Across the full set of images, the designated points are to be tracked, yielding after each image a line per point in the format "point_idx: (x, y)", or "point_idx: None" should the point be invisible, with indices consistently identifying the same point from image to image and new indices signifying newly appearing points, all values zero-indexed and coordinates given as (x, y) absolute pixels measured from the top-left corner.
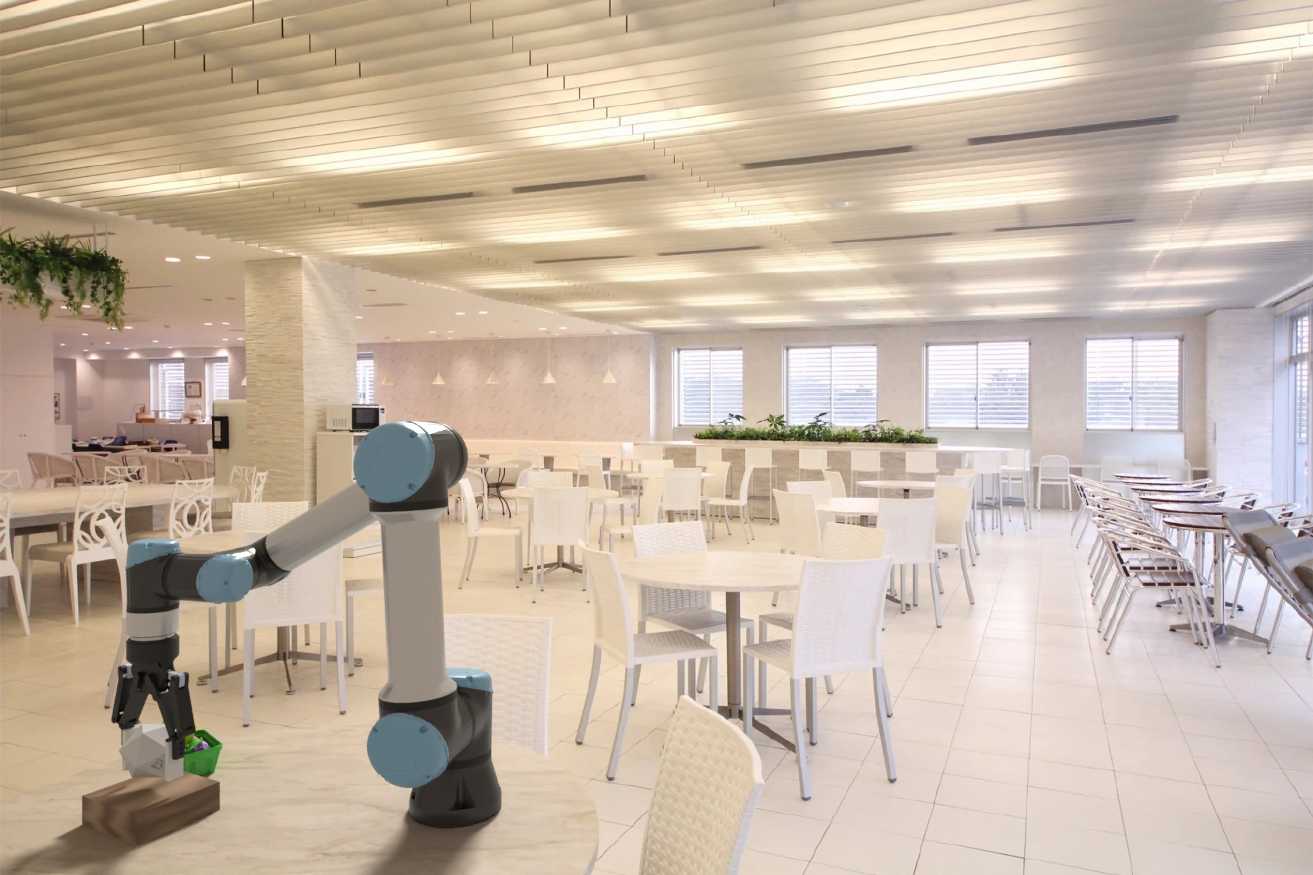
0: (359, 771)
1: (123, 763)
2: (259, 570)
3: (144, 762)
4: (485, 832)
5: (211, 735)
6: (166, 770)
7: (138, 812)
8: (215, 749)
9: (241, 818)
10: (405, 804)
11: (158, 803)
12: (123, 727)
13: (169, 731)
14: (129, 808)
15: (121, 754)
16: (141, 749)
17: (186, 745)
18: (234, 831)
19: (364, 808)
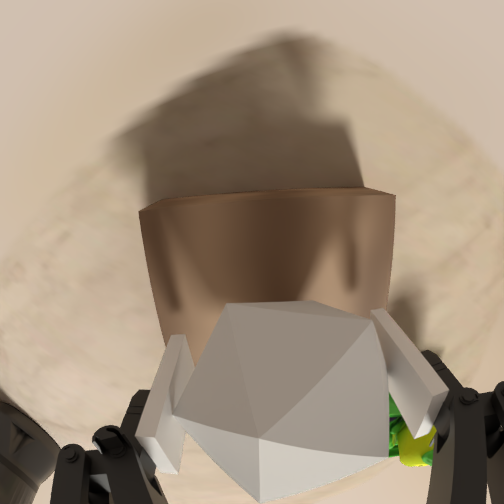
0: (168, 477)
1: (387, 319)
2: None
3: (212, 334)
4: None
5: (392, 456)
6: (170, 355)
7: (149, 219)
8: None
9: (126, 360)
10: (52, 433)
11: (166, 280)
12: (453, 400)
13: (125, 471)
14: (197, 219)
15: (352, 316)
16: (235, 369)
17: (393, 432)
18: (87, 325)
19: (62, 421)
